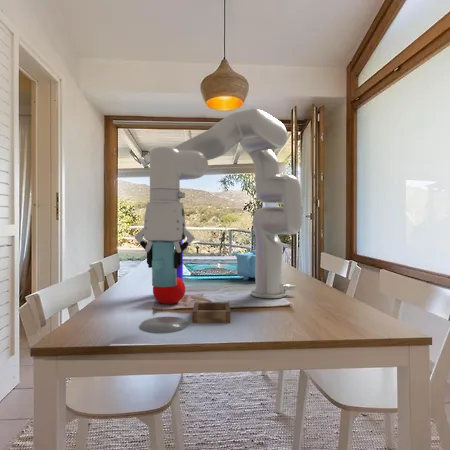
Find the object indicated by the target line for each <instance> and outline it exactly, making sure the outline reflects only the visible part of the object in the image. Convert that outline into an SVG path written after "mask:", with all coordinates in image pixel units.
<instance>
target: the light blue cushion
mask: <svg viewBox="0 0 450 450" xmlns="http://www.w3.org/2000/svg"><path fill="white" fill-rule="evenodd" d="M232 253H233V254H234V255H235V257H236V262H237V275H236V276H237V277H243V278H242V281H248V280H249V277H250V279H255V278H256V249H253V250H252V251H251V252H246V253H238V252H235V251H232Z"/></svg>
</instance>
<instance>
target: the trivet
mask: <svg viewBox="0 0 450 450" xmlns="http://www.w3.org/2000/svg"><path fill="white" fill-rule="evenodd" d="M187 327H189V321H188V320H187V319H185V318H183V317H178V316H159V317H158V316H157V317H156V316H155V317H153V318H148V319H144V320H143V321H142V322H141V323H140V329H141V330H143V331H145V332H148V333H153V334H154V333H155V334H168V333H176V332H180V331H183V330H185V329H186V328H187Z"/></svg>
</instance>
